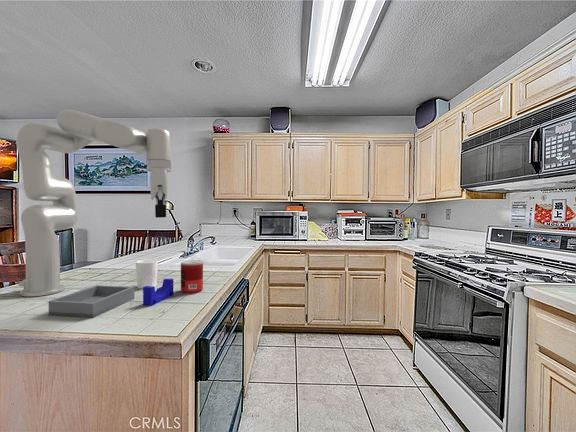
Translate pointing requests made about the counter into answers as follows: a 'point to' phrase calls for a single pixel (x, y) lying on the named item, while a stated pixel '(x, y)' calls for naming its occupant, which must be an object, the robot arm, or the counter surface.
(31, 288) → the robot arm
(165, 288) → the blue u-shaped block
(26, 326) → the counter surface
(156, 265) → the white cup
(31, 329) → the counter surface
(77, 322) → the counter surface
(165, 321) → the counter surface
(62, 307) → the tray
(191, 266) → the canned food
